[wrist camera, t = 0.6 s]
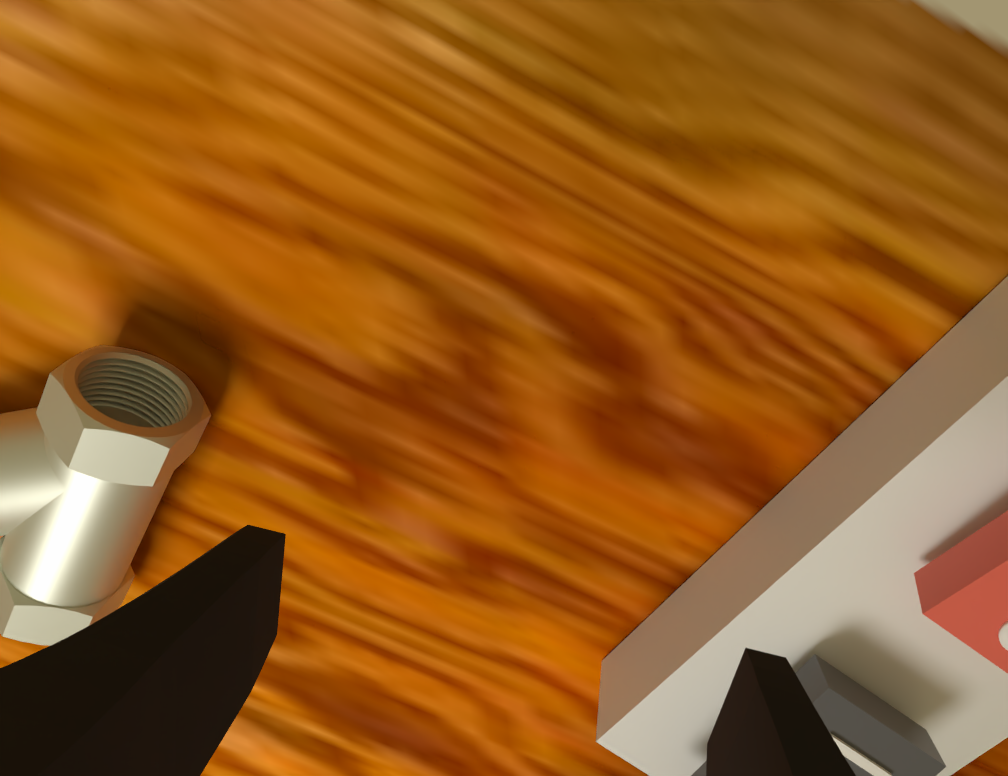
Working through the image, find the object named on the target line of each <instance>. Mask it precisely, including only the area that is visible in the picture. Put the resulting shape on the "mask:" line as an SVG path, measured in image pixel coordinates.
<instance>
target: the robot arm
mask: <svg viewBox="0 0 1008 776" xmlns="http://www.w3.org/2000/svg"><path fill="white" fill-rule="evenodd" d="M284 546H285V534H283V533H279V532H275V531H271V530H267V529H263V528H259V527H255V526H251V525H247V526H245V527H243V528H242V529H240V530H239V531H237V532H236V533H234V534H233V535H231V536H230V537H228V538H227V539H225V540H224V541H222V542H221V543H219V544H218V545H217V546H215V547H214V548H212V549H211V550H209V551H208V552H206V553H205V554H203V555H202V556H200V557H199V558H198V559H196V560H195V561H193V562H192V563H190V564H189V565H187V566H186V567H184V568H183V569H181V570H180V571H178V572H177V573H175V574H174V575H172V576H170V577H169V578H167V579H166V580H164V581H163V582H161V583H159V584H158V585H156V586H155V587H153V588H152V589H150V590H149V591H147V592H145V593H144V594H142V595H141V596H139V597H137V598H136V599H134V600H133V601H131V602H129V603H127V604H126V605H124V606H122V607H120V608H119V609H117V610H115V611H114V612H112V613H110V614H108V615H107V616H105V617H103V618H101V619H100V620H98V621H96V622H94V623H93V624H91V625H89V626H87V627H86V628H84V629H82V630H80V631H78V632H76V633H74V634H73V635H71V636H69V637H67V638H65V639H63V640H61V641H59V642H57V643H55V644H53V645H51V646H49V647H47V648H45V649H42V650H40V651H38V652H36V653H34V654H32V655H30V656H28V657H25V658H23V659H21V660H19V661H17V662H14V663H12V664H10V665H7V666H5V667H2V668H0V776H200V775H201V773H202V771H203V770H204V768H205V767H206V765H207V763H208V762H209V760H210V758H211V757H212V755H213V754H214V752H215V750H216V749H217V747H218V745H219V744H220V742H221V741H222V739H223V737H224V736H225V734H226V732H227V731H228V729H229V727H230V726H231V724H232V722H233V721H234V719H235V717H236V716H237V714H238V713H239V711H240V709H241V708H242V706H243V704H244V703H245V701H246V699H247V697H248V696H249V694H250V692H251V690H252V688H253V686H254V684H255V682H256V680H257V678H258V675H259V673H260V671H261V669H262V667H263V665H264V662H265V660H266V658H267V656H268V653H269V651H270V649H271V647H272V644H273V642H274V640H275V637H276V635H277V627H278V616H279V604H280V592H281V581H282V569H283V557H284ZM706 776H856V775H855V773H854V771H853V770H852V768H851V767H850V765H849V763H848V762H847V760H846V759H845V757H844V755H843V754H842V752H841V751H840V749H839V747H838V746H837V744H836V742H835V741H834V739H833V737H832V736H831V734H830V732H829V731H828V729H827V727H826V726H825V724H824V722H823V720H822V719H821V717H820V715H819V714H818V712H817V710H816V708H815V707H814V705H813V703H812V701H811V700H810V698H809V696H808V694H807V693H806V691H805V689H804V688H803V686H802V684H801V682H800V681H799V679H798V677H797V675H796V674H795V672H794V670H793V669H792V667H791V665H790V664H789V662H788V660H787V658H786V657H782V656H778V655H774V654H770V653H765V652H761V651H757V650H753V649H749V648H745V650H744V653H743V655H742V658H741V660H740V663H739V665H738V668H737V670H736V673H735V675H734V678H733V680H732V683H731V685H730V688H729V690H728V693H727V695H726V698H725V700H724V703H723V705H722V708H721V710H720V713H719V715H718V718H717V720H716V723H715V725H714V728H713V730H712V733H711V735H710V738H709V740H708V743H707V764H706Z"/></svg>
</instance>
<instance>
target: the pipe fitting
mask: <svg viewBox="0 0 1008 776" xmlns="http://www.w3.org/2000/svg"><path fill="white" fill-rule="evenodd" d="M210 417H211V413H210V411H209V409H208V407H207V405H206V403H205V401H204V399H203V397H202V395H201V394H200V392H199V390H198V389H197V387H196V386H195V385H194V383H193V382H192V381H191V380H190V378H189V377H188V376H187V375H186V374H185V373H184V372H182V371H181V370H179V369H178V368H176V367H175V366H173V365H172V364H170V363H168V362H166V361H164V360H162V359H160V358H158V357H156V356H153V355H150V354H148V353H144V352H141V351H137V350H133V349H128V348H123V347H116V346H107V345H99V346H95V347H92V348H89V349H87V350H85V351H83V352H81V353H79V354H77V355H75V356H74V357H72V358H70V359H69V360H67V361H66V362H64V363H63V364H61V365H60V366H59V367H57V368H56V369H55V370H53V371H52V372H51V373H50V374H49V377H48V380H47V383H46V386H45V388H44V391H43V394H42V397H41V400H40V403H39V405H38V407H36V408H30V409H24V410H19V411H13V412H8V413H2V414H0V536H3V535H4V536H3V537H2V538H0V633H1V635H2V636H3V637H7V638H11V639H14V640H18V641H22V642H28V643H33V644H39V645H50V646H51V645H53V644H55V643H57V642H59V641H61V640H63V639H65V638H67V637H69V636H71V635H73V634H74V633H76V632H78V631H80V630H82V629H84V628H86V627H87V626H89V625H91V624H93V623H94V622H96V621H98V620H100V619H101V618H103V617H105V616H107V615H108V614H110V613H112V612H114V611H115V610H117V609H118V607H119V606H120V605H121V604H122V602H123V600H124V598H125V596H126V594H127V592H128V590H129V587H130V585H131V583H132V581H133V579H134V577H135V574H134V572H133V569H132V567H131V562H132V559H133V557H134V555H135V553H136V551H137V549H138V547H139V544H140V542H141V540H142V538H143V536H144V534H145V532H146V530H147V527H148V525H149V523H150V521H151V519H152V517H153V515H154V512H155V510H156V508H157V506H158V504H159V502H160V500H161V497H162V495H163V493H164V491H165V489H166V487H167V485H168V483H169V480H170V478H171V476H172V474H173V472H174V470H175V469H176V468H177V467H179V466H180V465H181V464H182V463H183V462H184V461H185V460H186V459H187V458H188V457H189V456H190V455H191V454H192V453H193V452H194V451H195V449H196V447H197V445H198V442H199V440H200V438H201V436H202V434H203V432H204V430H205V428H206V426H207V424H208V421H209V419H210Z"/></svg>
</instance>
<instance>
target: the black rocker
mask: <svg viewBox="0 0 1008 776" xmlns="http://www.w3.org/2000/svg"><path fill="white" fill-rule="evenodd" d="M795 674H796V675H797V677H798V679H799V681H800V682H801V684H802V686H803V688H804V689H805V691H806V693H807V694H808V696H809V698H810V700H811V701H812V703H813V705H814V707H815V708H816V710H817V712H818V714H819V715H820V717H821V719H822V720H823V722H824V724H825V726H826V727H827V729H828V731H829V732H830V734H831V736H832V737H833V739H834V741H835V742H836V744H837V746H838V747H839V749H840V751H841V752H842V754H843V755H844V757H845V759H846V760H847V762H848V763H849V765H850V767H851V768H852V770H853V771H854V773H855V775H856V776H936V775H937V774H939V773H940V772H941V771H942V770H943V769H944V768H945V767H946V765H945V763H944V761H943V760H942V758H941V756H940V754H939V752H938V750H937V748H936V747H935V745H934V743H933V741H932V739H931V737H930V736H929V734H928V732H927V730H926V729H925V728H923V727H922V726H920V725H919V724H917V723H916V722H914V721H913V720H911V719H910V718H908V717H907V716H905V715H904V714H902V713H901V712H900V711H898V710H897V709H895V708H894V707H892V706H891V705H889V704H888V703H886V702H885V701H883V700H882V699H880V698H879V697H877V696H876V695H874V694H873V693H872V692H870V691H869V690H867V689H866V688H864V687H863V686H861V685H860V684H858V683H857V682H855V681H854V680H852V679H851V678H849V677H848V676H846V675H845V674H844V673H842V672H841V671H839V670H838V669H836V668H835V667H833V666H832V665H830V664H829V663H827V662H826V661H824V660H823V659H821V658H820V657H818V656H817V655H816V654H814V655H813V656H812V657H811V658H810V659H809V660H808V661H807V662H806V663H805V664H804V665H803V666H802V667H801V668H800V669H799V670H798V671H797V672H796V673H795ZM706 764H707V760H706V761H705V762H704V763H703V764H702V765H701V766H700V767H699V768H698V769H697V770H696V771H695V772H694V773H693V774H692V775H691V776H706Z"/></svg>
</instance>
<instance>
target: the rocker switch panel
mask: <svg viewBox="0 0 1008 776" xmlns="http://www.w3.org/2000/svg"><path fill="white" fill-rule="evenodd" d="M1007 510H1008V276H1007V277H1006V278H1005V279H1004V280H1003V281H1002V282H1001V283H1000V284H999V285H998V286H996V287H995V288H994V289H993V290H992V291H991V292H990V293H989V294H988V295H987V296H986V297H985V298H984V299H983V300H982V301H981V302H980V303H979V304H978V305H976V306H975V307H974V308H973V309H972V310H971V311H970V312H969V313H968V314H967V315H966V316H965V317H964V318H963V319H962V320H961V321H960V322H959V323H957V324H956V325H955V326H954V327H953V328H952V329H951V330H950V331H949V332H948V333H947V334H946V335H945V336H944V337H943V338H942V339H941V340H940V341H939V342H937V343H936V344H935V345H934V346H933V347H932V348H931V349H930V350H929V351H928V352H927V353H926V354H925V355H924V356H923V357H922V358H921V359H920V360H918V361H917V362H916V363H915V364H914V365H913V366H912V367H911V368H910V369H909V370H908V371H907V372H906V373H905V374H904V375H903V376H902V377H901V378H900V379H898V380H897V381H896V382H895V383H894V384H893V385H892V386H891V387H890V388H889V389H888V390H887V391H886V392H885V393H884V394H883V395H882V396H881V397H879V398H878V399H877V400H876V401H875V402H874V403H873V404H872V405H871V406H870V407H869V408H868V409H867V410H866V411H865V412H864V413H863V414H862V415H861V416H859V417H858V418H857V419H856V420H855V421H854V422H853V423H852V424H851V425H850V426H849V427H848V428H847V429H846V430H845V431H844V432H843V433H842V434H840V435H839V436H838V437H837V438H836V439H835V440H834V441H833V442H832V443H831V444H830V445H829V446H828V447H827V448H826V449H825V450H824V451H823V452H822V453H820V454H819V455H818V456H817V457H816V458H815V459H814V460H813V461H812V462H811V463H810V464H809V465H808V466H807V467H806V468H805V469H804V470H803V471H801V472H800V473H799V474H798V475H797V476H796V477H795V478H794V479H793V480H792V481H791V482H790V483H789V484H788V485H787V486H786V487H785V488H784V489H783V490H781V491H780V492H779V493H778V494H777V495H776V496H775V497H774V498H773V499H772V500H771V501H770V502H769V503H768V504H767V505H766V506H765V507H764V508H762V509H761V510H760V511H759V512H758V513H757V514H756V515H755V516H754V517H753V518H752V519H751V520H750V521H749V522H748V523H747V524H746V525H745V526H743V527H742V528H741V529H740V530H739V531H738V532H737V533H736V534H735V535H734V536H733V537H732V538H731V539H730V540H729V541H728V542H727V543H726V544H725V545H723V546H722V547H721V548H720V549H719V550H718V551H717V552H716V553H715V554H714V555H713V556H712V557H711V558H710V559H709V560H708V561H707V562H706V563H704V564H703V565H702V566H701V567H700V568H699V569H698V570H697V571H696V572H695V573H694V574H693V575H692V576H691V577H690V578H689V579H688V580H687V581H686V582H684V583H683V584H682V585H681V586H680V587H679V588H678V589H677V590H676V591H675V592H674V593H673V594H672V595H671V596H670V597H669V598H668V599H667V600H665V601H664V602H663V603H662V604H661V605H660V606H659V607H658V608H657V609H656V610H655V611H654V612H653V613H652V614H651V615H650V616H649V617H648V618H647V619H645V620H644V621H643V622H642V623H641V624H640V625H639V626H638V627H637V628H636V629H635V630H634V631H633V632H632V633H631V634H630V635H629V636H628V637H626V638H625V639H624V640H623V641H622V642H621V643H620V644H619V645H618V646H617V647H616V648H615V649H614V650H613V651H612V652H611V653H610V654H609V655H608V656H606V657H605V658H604V659H603V660H602V667H601V680H600V693H599V706H598V720H597V733H596V742H597V743H599V744H600V745H602V746H603V747H605V748H607V749H608V750H610V751H611V752H613V753H614V754H616V755H618V756H619V757H621V758H622V759H624V760H625V761H627V762H629V763H630V764H632V765H633V766H635V767H636V768H638V769H640V770H641V771H643V772H644V773H646V774H647V775H649V776H691V775H692V774H693V773H694V772H695V771H696V770H697V769H698V768H699V767H700V766H701V765H702V764H703V763H704V762H705V761H706V760H707V743H708V740H709V738H710V735H711V733H712V730H713V728H714V725H715V723H716V720H717V718H718V715H719V713H720V710H721V708H722V705H723V703H724V700H725V698H726V695H727V693H728V690H729V688H730V685H731V683H732V680H733V678H734V675H735V673H736V670H737V668H738V665H739V663H740V660H741V658H742V655H743V653H744V650H745V648H749V649H753V650H757V651H761V652H765V653H770V654H774V655H778V656H782V657H786V658H787V660H788V662H789V664H790V665H791V667H792V669H793V670H794V672H795V673H796V672H797V671H798V670H799V669H800V668H801V667H802V666H803V665H804V664H805V663H806V662H807V661H808V660H809V659H810V658H811V657H812V656H813V655H814V654H816V655H817V656H818V657H820V658H821V659H823V660H824V661H826V662H827V663H829V664H830V665H832V666H833V667H835V668H836V669H838V670H839V671H841V672H842V673H844V674H845V675H846V676H848V677H849V678H851V679H852V680H854V681H855V682H857V683H858V684H860V685H861V686H863V687H864V688H866V689H867V690H869V691H870V692H872V693H873V694H874V695H876V696H877V697H879V698H880V699H882V700H883V701H885V702H886V703H888V704H889V705H891V706H892V707H894V708H895V709H897V710H898V711H900V712H901V713H902V714H904V715H905V716H907V717H908V718H910V719H911V720H913V721H914V722H916V723H917V724H919V725H920V726H922V727H923V728H925V729H926V730H927V732H928V734H929V736H930V737H931V739H932V741H933V743H934V745H935V747H936V748H937V750H938V752H939V754H940V756H941V758H942V760H943V761H944V763H945V765H946V767H945V768H944V769H943V770H942V771H941V772H940V773H939V774H937V775H936V776H950V775H952V774H953V773H955V772H956V771H958V770H959V769H961V768H962V767H964V766H965V765H967V764H968V763H970V762H971V761H973V760H974V759H976V758H977V757H979V756H980V755H982V754H983V753H985V752H986V751H988V750H989V749H991V748H992V747H994V746H995V745H997V744H998V743H1000V742H1001V741H1003V740H1004V739H1006V738H1007V737H1008V673H1006V672H1005V671H1003V670H1002V669H1000V668H999V667H998V666H996V665H995V664H993V663H992V662H990V661H989V660H988V659H986V658H985V657H983V656H982V655H980V654H979V653H978V652H976V651H975V650H973V649H972V648H970V647H969V646H968V645H966V644H965V643H963V642H962V641H961V640H959V639H958V638H956V637H955V636H953V635H952V634H951V633H949V632H948V631H946V630H945V629H943V628H942V627H941V626H939V625H938V624H936V623H935V622H933V621H932V620H931V619H929V618H928V617H926V616H925V615H923V614H922V609H921V604H920V600H919V595H918V590H917V586H916V581H915V577H914V573H915V572H916V571H918V570H919V569H921V568H922V567H924V566H925V565H927V564H928V563H930V562H931V561H933V560H934V559H936V558H937V557H939V556H940V555H942V554H943V553H945V552H946V551H948V550H949V549H951V548H952V547H954V546H955V545H957V544H958V543H960V542H961V541H963V540H964V539H966V538H967V537H969V536H970V535H972V534H973V533H975V532H976V531H978V530H979V529H981V528H982V527H984V526H985V525H987V524H988V523H990V522H991V521H993V520H994V519H996V518H997V517H999V516H1000V515H1002V514H1003V513H1004V512H1006V511H1007Z"/></svg>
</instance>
